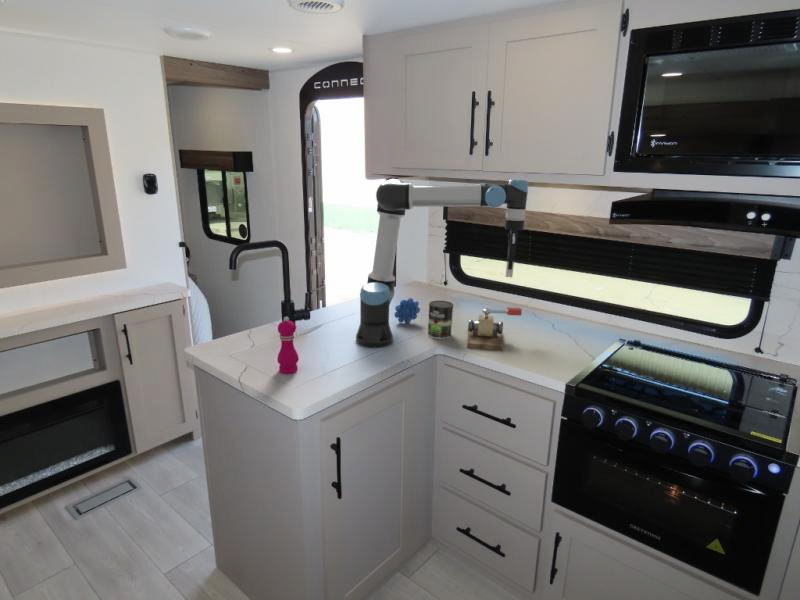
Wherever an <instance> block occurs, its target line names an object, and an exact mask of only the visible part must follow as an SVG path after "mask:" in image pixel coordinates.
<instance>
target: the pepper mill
mask: <svg viewBox="0 0 800 600" xmlns="http://www.w3.org/2000/svg"><path fill="white" fill-rule="evenodd" d="M296 330H297V328H296V324H295V323H294V321H291V320H290V318H289V317H288V316H284V317H283V321H281V322H279V324H278V326H277V331H278V333H279V340H280V343H281V344H280V345H281V346H280V350H279V352H278V354H277V359H276V360H277V364H279V368H278V370H279V372H280V373H281V374H283V375H290V374H294V373H296V372H298V370H299V369H298V364H297V363H298V362H299V360H300V359H299V358H300V357H299V355H298V352H297V349H296V348H295V346H294V339H295V332H296Z"/></svg>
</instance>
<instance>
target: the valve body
mask: <svg viewBox="0 0 800 600" xmlns="http://www.w3.org/2000/svg"><path fill="white" fill-rule="evenodd" d="M494 321H495V320H494V315H489V314H484V313H483V314H479V315H478V320H473V319H468V326H467V332H468V331H469V332H472V331H473V337H477V336H491V337H492V338H497V333H498V334H501V335H503V331H504V330H503V329H504V322H503V321H498V322H494Z"/></svg>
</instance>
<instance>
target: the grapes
mask: <svg viewBox="0 0 800 600" xmlns="http://www.w3.org/2000/svg"><path fill="white" fill-rule="evenodd" d="M419 305H420V304H419V301H418V300H414V299H413V298H411V297H409V298H408V299H401V300H400V303H399V304H397V305H395V307H394V308H395V312H394V317H395V318H397V320H398V322H399V323H405V324H409V323H411V321H412V320H413V321H414V320H416V319H417V318H418V314H419V313H420V311H421V308H420V306H419Z"/></svg>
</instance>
